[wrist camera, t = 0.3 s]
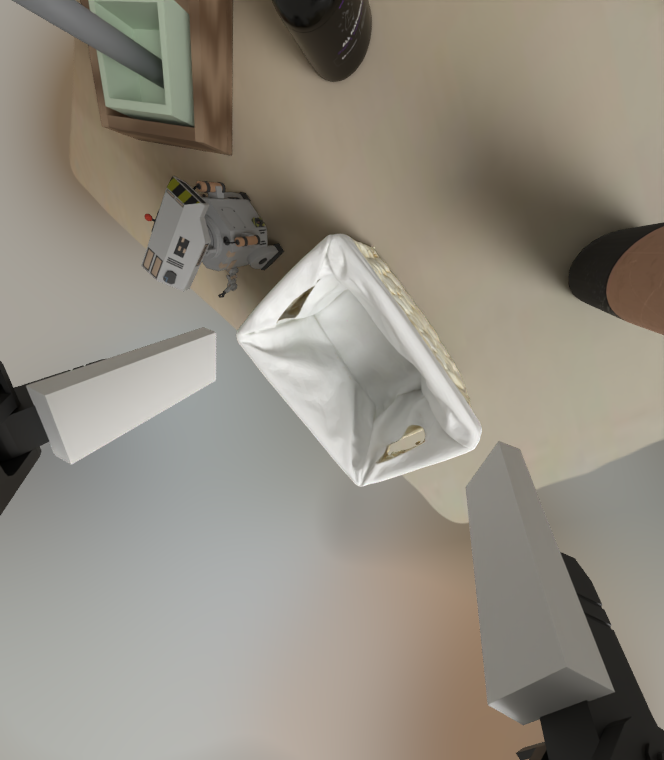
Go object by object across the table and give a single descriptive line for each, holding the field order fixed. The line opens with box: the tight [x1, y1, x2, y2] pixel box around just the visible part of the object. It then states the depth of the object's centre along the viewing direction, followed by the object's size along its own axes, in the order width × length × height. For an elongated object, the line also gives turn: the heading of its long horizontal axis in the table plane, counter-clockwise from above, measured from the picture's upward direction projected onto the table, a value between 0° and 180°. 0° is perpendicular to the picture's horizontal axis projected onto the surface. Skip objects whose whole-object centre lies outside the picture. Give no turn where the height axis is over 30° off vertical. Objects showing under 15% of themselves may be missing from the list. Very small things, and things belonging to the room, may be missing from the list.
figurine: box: [142, 176, 284, 297], centre depth 33 cm, size 9×12×15 cm
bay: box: [80, 0, 233, 155], centre depth 30 cm, size 20×16×5 cm
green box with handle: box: [12, 0, 195, 128], centre depth 27 cm, size 9×10×15 cm
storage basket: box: [236, 234, 482, 486], centre depth 33 cm, size 24×16×15 cm
